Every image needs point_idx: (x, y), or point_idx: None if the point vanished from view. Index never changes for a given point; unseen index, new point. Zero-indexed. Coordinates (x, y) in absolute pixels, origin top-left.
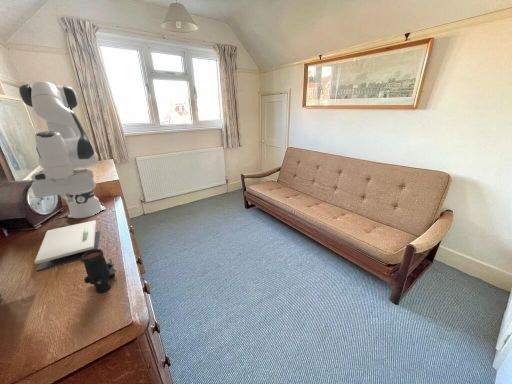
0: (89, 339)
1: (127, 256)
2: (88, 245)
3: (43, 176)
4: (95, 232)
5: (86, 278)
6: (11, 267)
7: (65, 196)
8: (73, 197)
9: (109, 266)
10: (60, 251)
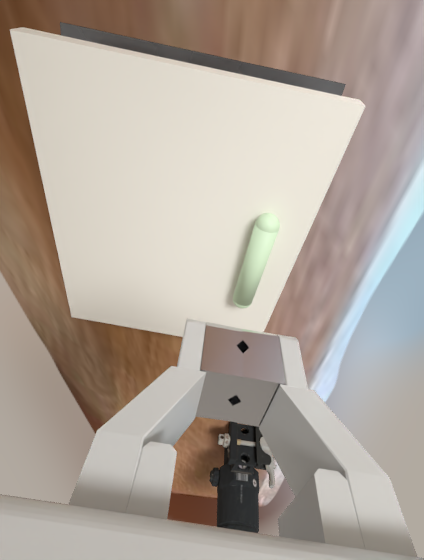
0: (203, 493)
1: (323, 387)
2: None
3: None
4: (313, 88)
5: (214, 485)
6: None
7: (168, 421)
8: (283, 453)
9: (263, 466)
10: (146, 314)
